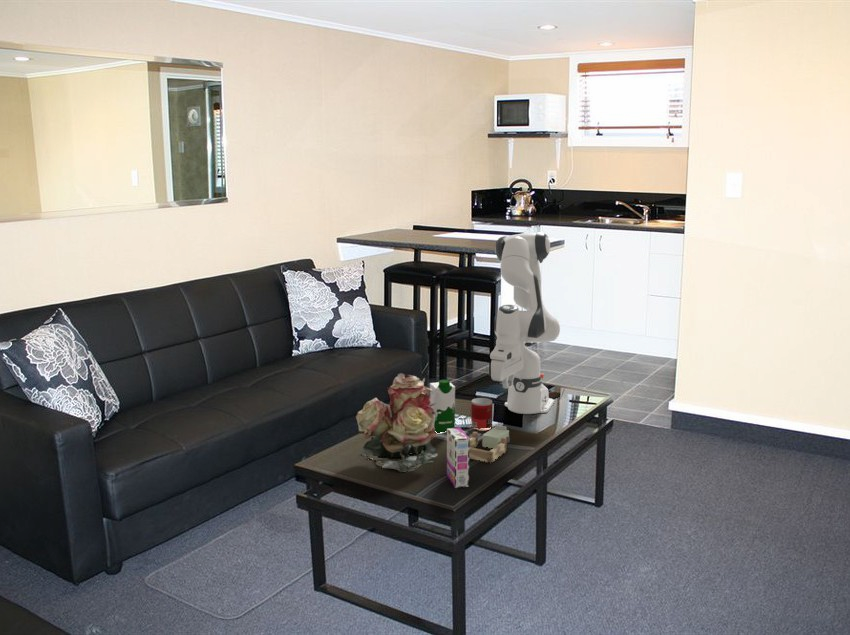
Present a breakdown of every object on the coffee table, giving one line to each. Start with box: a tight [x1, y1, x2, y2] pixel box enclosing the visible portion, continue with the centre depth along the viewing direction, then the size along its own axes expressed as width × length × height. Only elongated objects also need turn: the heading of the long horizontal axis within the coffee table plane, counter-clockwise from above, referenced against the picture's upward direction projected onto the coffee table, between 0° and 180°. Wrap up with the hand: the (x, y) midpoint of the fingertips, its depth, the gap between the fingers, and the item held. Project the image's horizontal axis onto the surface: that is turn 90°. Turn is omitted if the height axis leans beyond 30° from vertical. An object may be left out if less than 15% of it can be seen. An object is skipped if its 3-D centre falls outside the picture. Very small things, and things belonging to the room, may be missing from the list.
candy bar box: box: [446, 427, 470, 489], centre depth 261 cm, size 11×5×16 cm, turn 13°
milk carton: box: [429, 379, 456, 434], centre depth 307 cm, size 9×9×20 cm
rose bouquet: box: [355, 372, 439, 474], centre depth 279 cm, size 26×29×30 cm
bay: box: [469, 431, 508, 464], centre depth 285 cm, size 12×13×5 cm
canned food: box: [470, 397, 493, 428], centre depth 309 cm, size 8×8×11 cm
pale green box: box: [481, 424, 511, 449], centre depth 294 cm, size 9×7×6 cm
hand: (507, 386), depth 298 cm, fingers open, 2 cm apart
